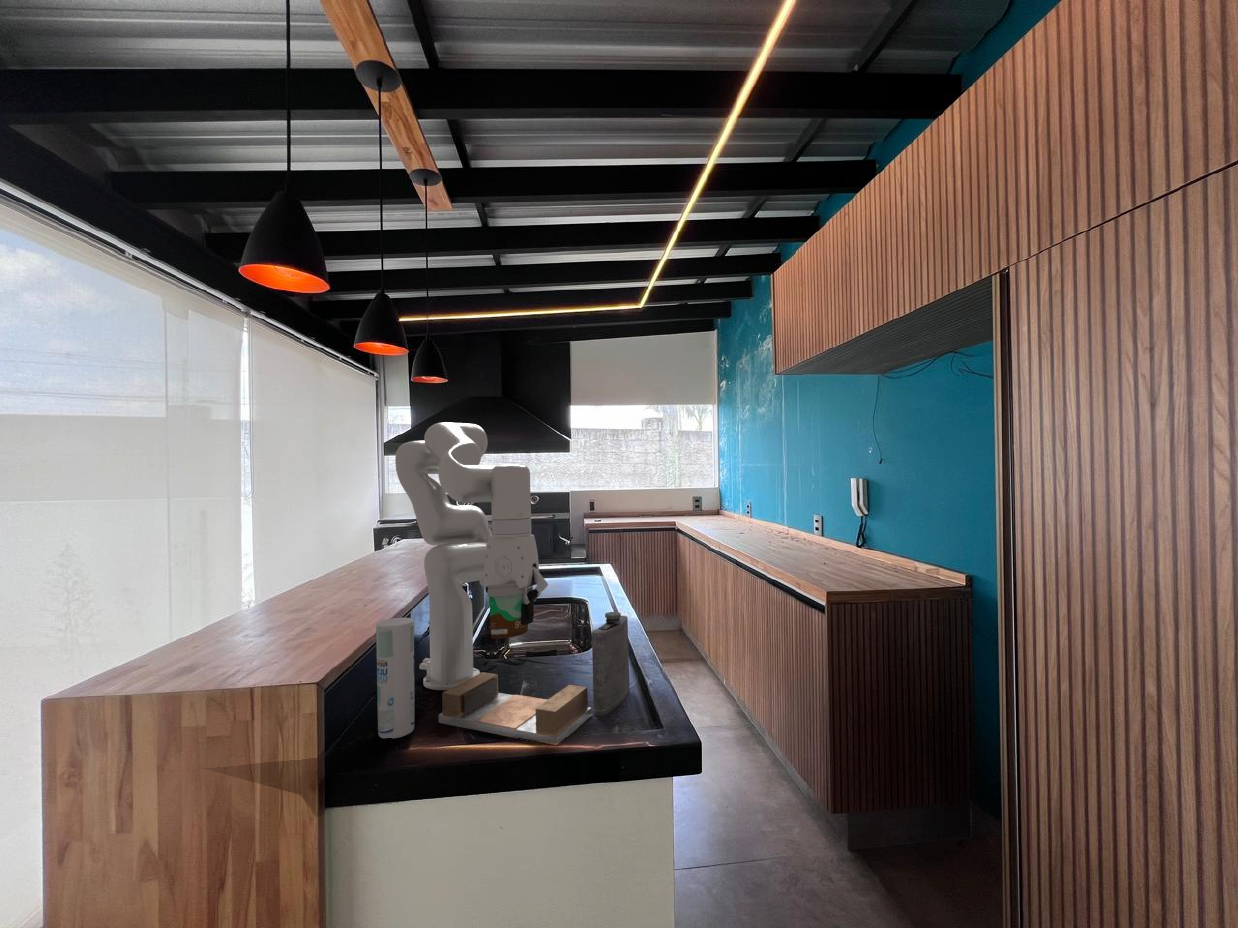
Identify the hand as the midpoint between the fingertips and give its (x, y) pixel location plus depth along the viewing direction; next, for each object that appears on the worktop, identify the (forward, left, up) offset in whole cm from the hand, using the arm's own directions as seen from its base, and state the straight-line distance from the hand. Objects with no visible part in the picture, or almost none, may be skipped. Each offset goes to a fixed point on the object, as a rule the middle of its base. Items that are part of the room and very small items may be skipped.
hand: (513, 621), depth 104 cm
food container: (+1, 0, -2) cm, 2 cm away
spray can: (-18, -12, -19) cm, 29 cm away
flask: (+14, +14, -19) cm, 28 cm away
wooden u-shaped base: (0, 0, -18) cm, 18 cm away
